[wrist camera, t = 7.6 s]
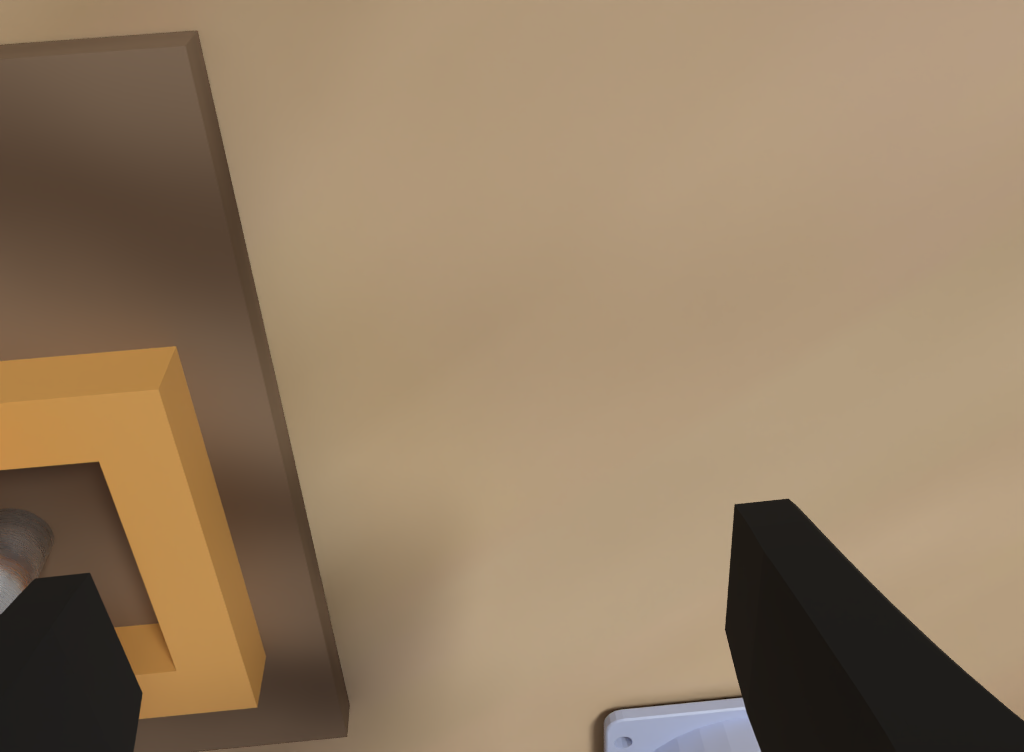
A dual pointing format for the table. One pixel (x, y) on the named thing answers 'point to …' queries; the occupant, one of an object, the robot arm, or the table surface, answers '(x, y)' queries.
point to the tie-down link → (148, 514)
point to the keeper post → (21, 551)
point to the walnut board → (157, 345)
